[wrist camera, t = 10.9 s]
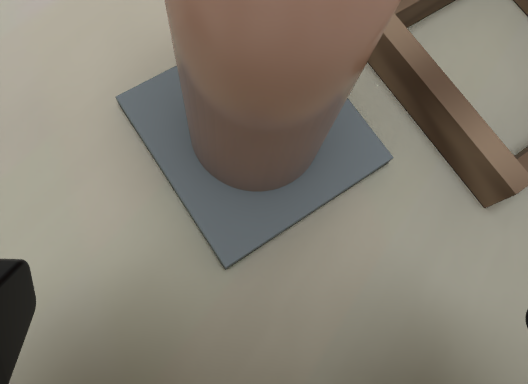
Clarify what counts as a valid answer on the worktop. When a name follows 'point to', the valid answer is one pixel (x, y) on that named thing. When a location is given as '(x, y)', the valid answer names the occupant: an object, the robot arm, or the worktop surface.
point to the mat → (241, 201)
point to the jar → (268, 79)
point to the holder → (446, 108)
